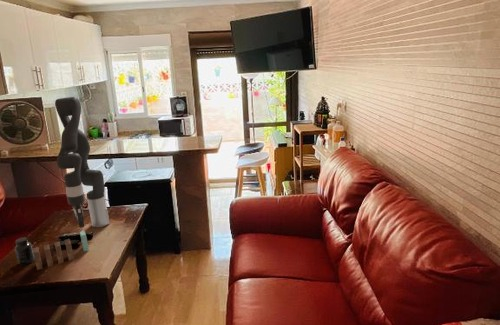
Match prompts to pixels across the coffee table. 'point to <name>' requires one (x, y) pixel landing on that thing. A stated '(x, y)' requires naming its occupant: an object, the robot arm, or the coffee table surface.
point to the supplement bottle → (24, 251)
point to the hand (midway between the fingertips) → (80, 223)
